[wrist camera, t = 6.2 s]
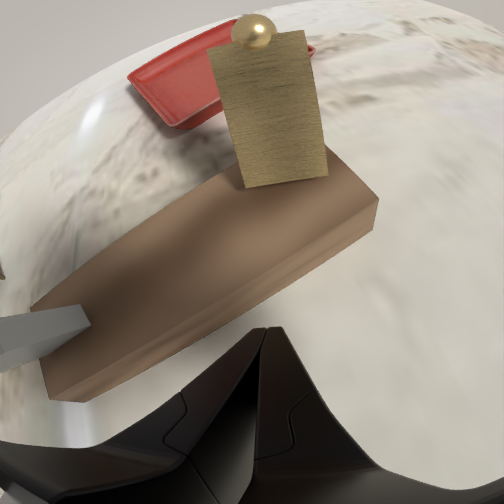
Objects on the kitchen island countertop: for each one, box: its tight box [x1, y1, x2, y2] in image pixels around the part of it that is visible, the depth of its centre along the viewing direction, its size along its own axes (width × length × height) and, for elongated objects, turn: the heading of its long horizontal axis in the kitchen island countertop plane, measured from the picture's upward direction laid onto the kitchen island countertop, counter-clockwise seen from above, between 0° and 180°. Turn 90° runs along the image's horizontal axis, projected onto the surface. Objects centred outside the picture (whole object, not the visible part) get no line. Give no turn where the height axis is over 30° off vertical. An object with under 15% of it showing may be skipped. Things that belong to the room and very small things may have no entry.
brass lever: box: [206, 14, 329, 188], centre depth 16 cm, size 2×5×10 cm, turn 93°
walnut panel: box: [30, 145, 379, 403], centre depth 21 cm, size 8×26×4 cm, turn 119°
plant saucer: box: [127, 19, 316, 129], centre depth 33 cm, size 18×18×3 cm
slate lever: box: [0, 304, 91, 373], centre depth 13 cm, size 2×5×10 cm, turn 119°
